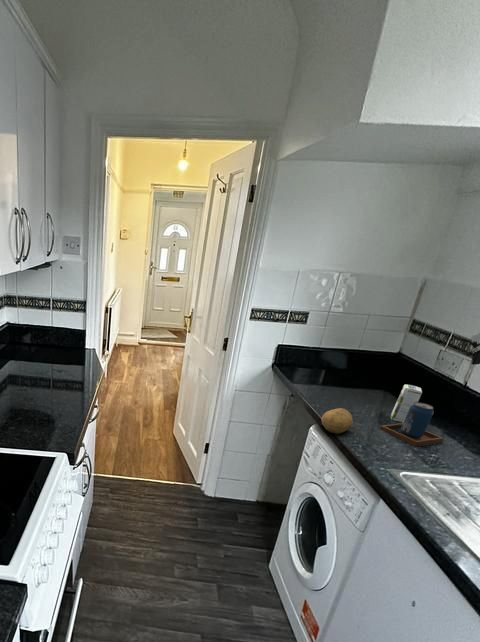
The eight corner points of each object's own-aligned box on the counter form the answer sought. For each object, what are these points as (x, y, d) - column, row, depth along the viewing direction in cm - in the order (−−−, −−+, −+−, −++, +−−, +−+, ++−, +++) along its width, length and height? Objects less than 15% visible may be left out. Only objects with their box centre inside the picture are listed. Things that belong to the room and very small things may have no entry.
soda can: (423, 436, 151) (437, 406, 146) (419, 441, 147) (433, 411, 142) (401, 429, 156) (414, 399, 150) (397, 434, 151) (410, 404, 146)
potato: (312, 431, 151) (318, 412, 147) (325, 421, 160) (332, 402, 156) (340, 442, 145) (348, 421, 141) (353, 431, 154) (360, 411, 150)
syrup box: (389, 416, 168) (403, 383, 162) (406, 420, 166) (421, 387, 160) (390, 421, 164) (404, 387, 158) (408, 425, 161) (423, 391, 155)
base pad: (441, 443, 148) (443, 438, 147) (414, 447, 144) (416, 441, 143) (405, 427, 159) (407, 422, 159) (379, 430, 155) (381, 425, 154)
